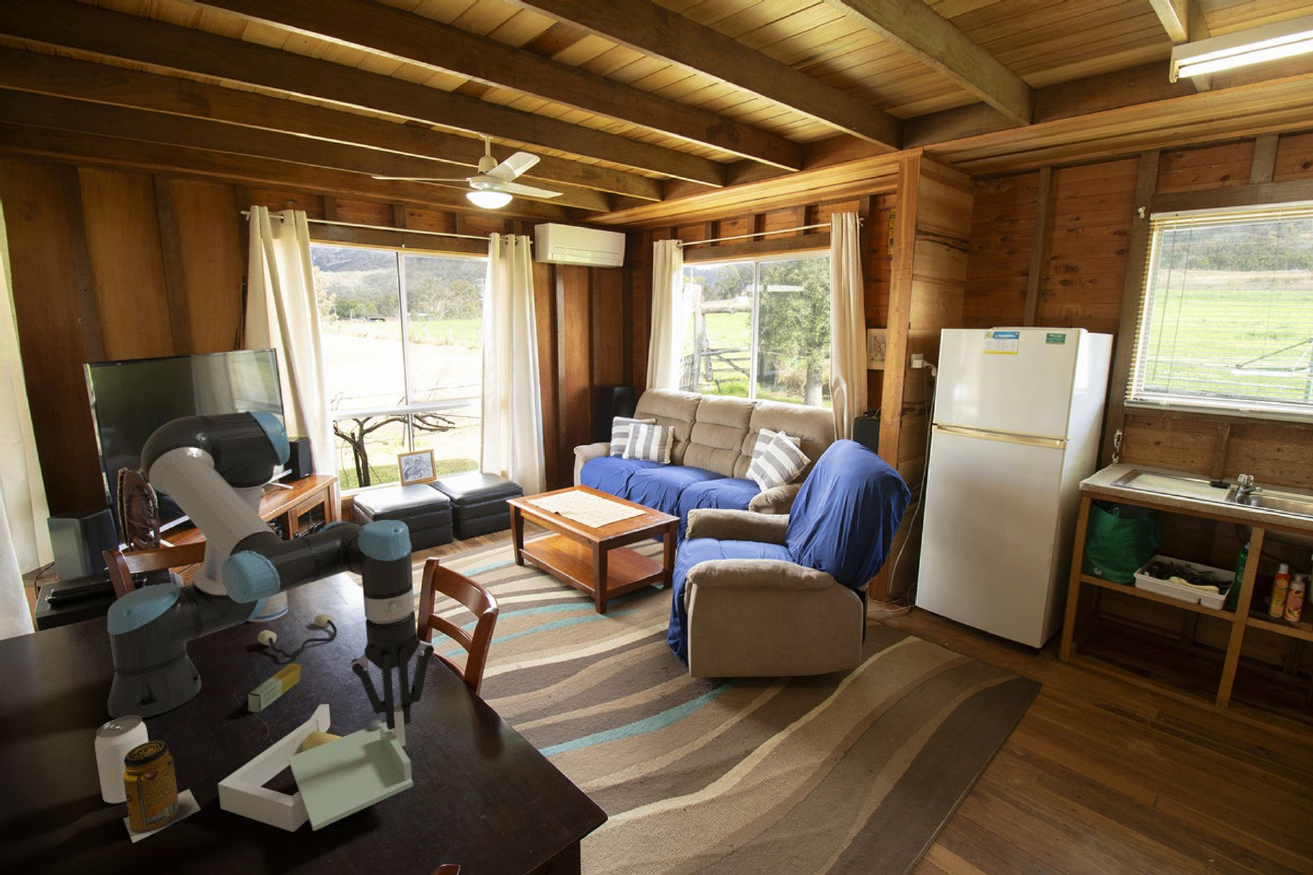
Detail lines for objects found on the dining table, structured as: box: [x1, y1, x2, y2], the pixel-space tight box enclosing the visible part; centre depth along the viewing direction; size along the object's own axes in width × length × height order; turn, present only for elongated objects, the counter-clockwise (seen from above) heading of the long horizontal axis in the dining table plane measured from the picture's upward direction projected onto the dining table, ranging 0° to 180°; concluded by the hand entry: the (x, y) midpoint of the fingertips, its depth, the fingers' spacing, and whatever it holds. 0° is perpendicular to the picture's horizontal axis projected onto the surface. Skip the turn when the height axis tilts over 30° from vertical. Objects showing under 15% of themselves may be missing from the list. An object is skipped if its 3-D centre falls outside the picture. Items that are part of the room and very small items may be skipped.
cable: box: [257, 613, 338, 658], centre depth 150 cm, size 16×16×4 cm
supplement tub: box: [248, 591, 289, 623], centre depth 164 cm, size 10×10×15 cm
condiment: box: [123, 740, 202, 844], centre depth 95 cm, size 7×8×12 cm
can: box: [94, 715, 149, 804], centre depth 100 cm, size 6×6×12 cm
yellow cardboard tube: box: [303, 731, 342, 752], centre depth 110 cm, size 10×4×4 cm, turn 73°
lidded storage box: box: [217, 703, 403, 833], centre depth 106 cm, size 22×19×4 cm
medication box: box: [247, 663, 302, 713], centre depth 128 cm, size 12×3×4 cm, turn 172°
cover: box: [289, 719, 414, 832], centre depth 99 cm, size 15×20×4 cm
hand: (399, 741), depth 104 cm, fingers closed
